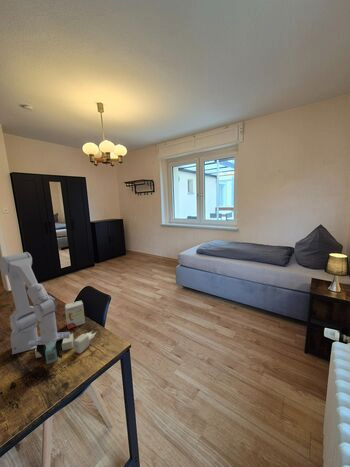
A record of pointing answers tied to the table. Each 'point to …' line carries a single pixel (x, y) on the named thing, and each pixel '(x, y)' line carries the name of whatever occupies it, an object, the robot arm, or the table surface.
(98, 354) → the table surface
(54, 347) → the grey-green boxy piece
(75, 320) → the ink box
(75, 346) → the power adapter
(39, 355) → the block
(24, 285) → the robot arm
